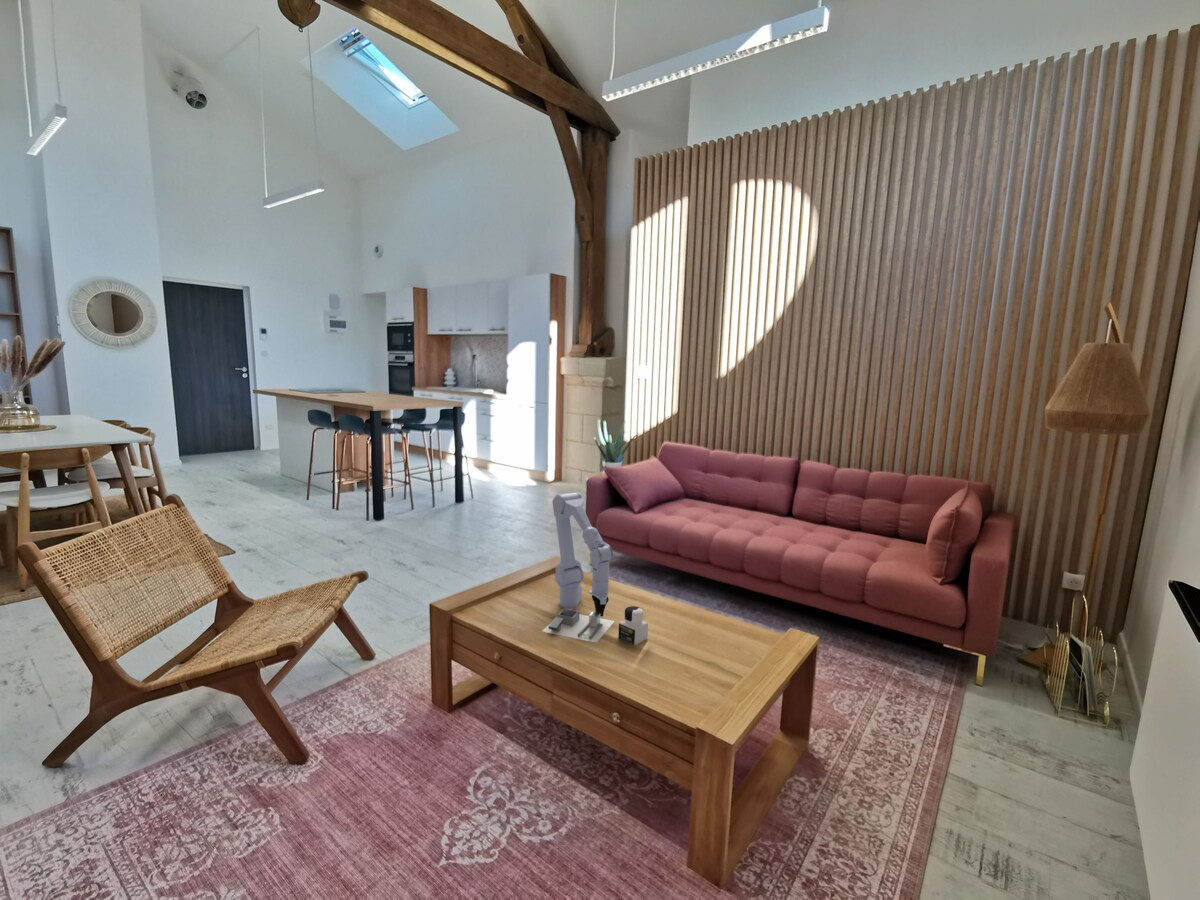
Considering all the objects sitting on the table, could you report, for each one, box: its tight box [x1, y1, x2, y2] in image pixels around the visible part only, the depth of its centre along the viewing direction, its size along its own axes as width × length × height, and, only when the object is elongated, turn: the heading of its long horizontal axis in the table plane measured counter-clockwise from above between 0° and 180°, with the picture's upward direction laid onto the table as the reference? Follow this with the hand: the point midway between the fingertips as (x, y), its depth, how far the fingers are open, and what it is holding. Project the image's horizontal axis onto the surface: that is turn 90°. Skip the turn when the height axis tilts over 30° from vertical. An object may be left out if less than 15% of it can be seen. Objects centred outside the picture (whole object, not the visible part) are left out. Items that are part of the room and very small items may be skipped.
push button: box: [562, 607, 575, 617], centre depth 208 cm, size 4×4×4 cm
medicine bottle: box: [617, 605, 649, 646], centre depth 196 cm, size 7×7×12 cm
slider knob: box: [588, 611, 601, 627], centre depth 204 cm, size 3×3×4 cm
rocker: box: [547, 616, 564, 631], centre depth 201 cm, size 6×3×1 cm, turn 159°
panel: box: [541, 609, 615, 644], centre depth 205 cm, size 18×20×4 cm
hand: (599, 615), depth 209 cm, fingers closed
